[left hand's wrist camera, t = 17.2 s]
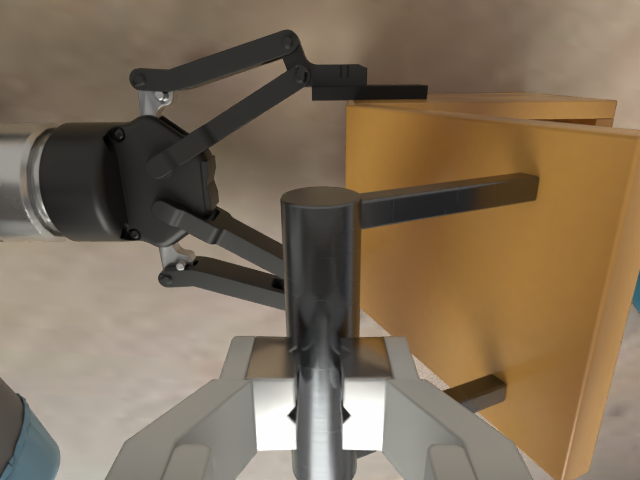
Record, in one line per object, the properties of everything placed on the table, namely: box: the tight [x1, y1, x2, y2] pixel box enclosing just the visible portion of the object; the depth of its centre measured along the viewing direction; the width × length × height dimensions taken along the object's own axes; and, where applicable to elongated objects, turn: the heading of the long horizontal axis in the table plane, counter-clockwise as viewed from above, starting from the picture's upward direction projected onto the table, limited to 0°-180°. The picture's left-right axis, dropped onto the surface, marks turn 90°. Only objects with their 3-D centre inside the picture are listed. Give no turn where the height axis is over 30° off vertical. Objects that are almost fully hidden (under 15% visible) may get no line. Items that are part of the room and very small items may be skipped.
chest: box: [348, 92, 617, 127], centre depth 29 cm, size 13×10×11 cm
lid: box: [281, 104, 640, 480], centre depth 16 cm, size 14×10×8 cm
